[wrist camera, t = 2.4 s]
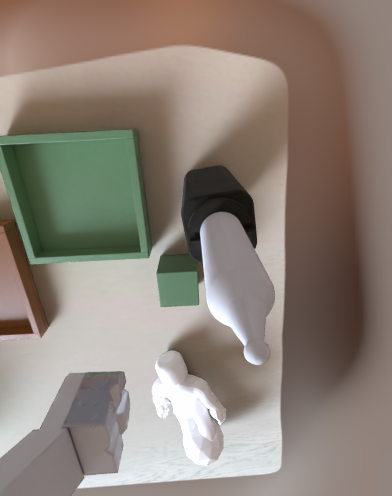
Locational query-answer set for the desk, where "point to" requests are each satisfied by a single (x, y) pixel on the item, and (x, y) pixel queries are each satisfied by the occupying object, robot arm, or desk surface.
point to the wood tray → (17, 290)
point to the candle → (228, 255)
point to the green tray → (77, 195)
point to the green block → (177, 281)
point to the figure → (189, 407)
